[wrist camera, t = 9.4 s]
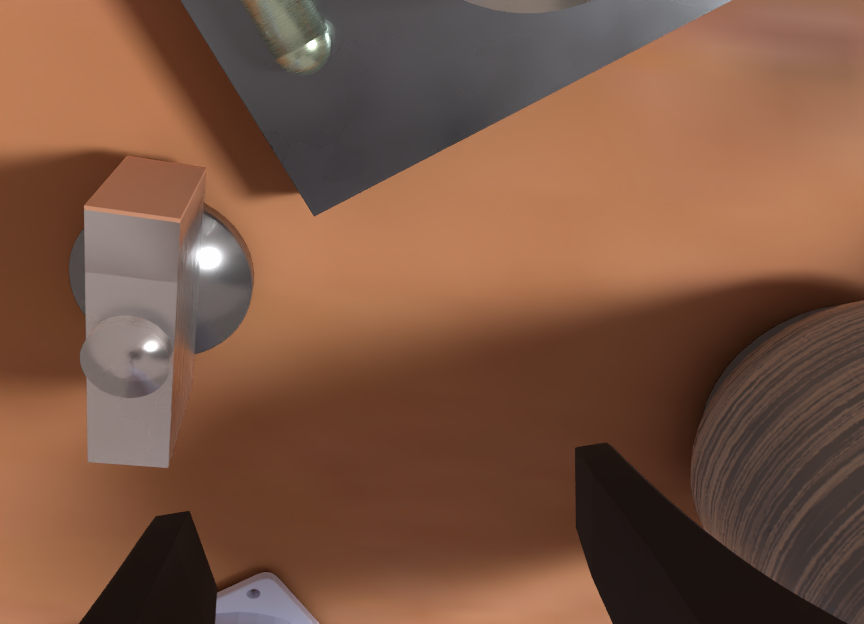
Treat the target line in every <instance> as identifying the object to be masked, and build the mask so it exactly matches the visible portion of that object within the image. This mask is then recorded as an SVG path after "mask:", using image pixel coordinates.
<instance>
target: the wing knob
mask: <svg viewBox="0 0 864 624" xmlns="http://www.w3.org/2000/svg"><path fill="white" fill-rule="evenodd" d="M205 177H206V168H205V167H198V166H192V165H185V164H179V163H172V162H166V161H159V160H153V159H146V158H140V157H133V156H126V157H125V159H124V160H123V161H122V162H121V163H120V164H119V165H118V167H117V168H116V169H115V170H114V171H113V172H112V174H111V175H110V176H109V177H108V178H107V179H106V180H105V182H104V183H103V184H102V185H101V186H100V187H99V189H98V190H97V191H96V192H95V193H94V194H93V196H92V197H91V198H90V199H89V200H88V201H87V202H86V204H85V205H84V229H83V230H82V231H81V233H80V234H79V236H78V238H77V239H76V241H75V244H74V246H73V249H72V251H71V256H70V261H69V278H70V284H71V288H72V292H73V295H74V297H75V299H76V302H77V304H78V305H79V307H80V309H81V311H82V312H83V314H84V315H85V316H86V340H85V342H84V344H83V346H82V348H81V352H80V364H81V368H82V370H83V372H84V374H85V376H86V377H87V441H88V462H93V463H107V464H121V465H134V466H148V467H161V468H168V467H169V464H170V461H171V457H172V454H173V451H174V447H175V444H176V440H177V437H178V434H179V430H180V427H181V424H182V420H183V417H184V413H185V410H186V407H187V403H188V400H189V397H190V393H191V390H192V383H193V367H194V354H197V353H201V352H204V351H206V350H209V349H211V348H213V347H215V346H216V345H218V344H220V343H222V342H223V341H224V340H225V339H227V338H228V337H229V336H230V335H231V334H232V333H233V332H234V331H235V330H236V329H237V328H238V326H239V325H240V324H241V322H242V321H243V319H244V317H245V315H246V313H247V310H248V307H249V304H250V300H251V295H252V290H253V285H254V270H253V263H252V259H251V255H250V252H249V250H248V248H247V245H246V243H245V242H244V240H243V238H242V237H241V235H240V234H239V232H238V231H237V230H236V228H235V227H234V226H233V225H232V224H231V223H230V222H229V221H228V220H227V219H226V218H225V217H224V216H223V215H221V214H220V213H219V212H218V211H216V210H215V209H213V208H211V207H210V206H208V205H207V204H205V203H204V193H205Z"/></svg>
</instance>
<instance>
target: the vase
mask: <svg viewBox="0 0 864 624" xmlns="http://www.w3.org/2000/svg"><path fill="white" fill-rule="evenodd" d="M690 482H691V489H692V495H693V501H694V507H695V510H696V512H697V515H698V517H699V519H700V522H701V524H702V526H703V528H704V530H705V531H706V532H707V533H709V534H710V535H711V536H713V537H714V538H715V539H717V540H718V541H719V542H720V543H722V544H723V545H724V546H726V547H727V548H728V549H729V550H731V551H732V552H734V553H735V554H736V555H738V556H739V557H740V558H742V559H743V560H745V561H746V562H747V563H749V564H750V565H752V566H753V567H754V568H756V569H757V570H759V571H760V572H762V573H763V574H765V575H766V576H768V577H769V578H771V579H772V580H774V581H775V582H777V583H778V584H780V585H782V586H783V587H785V588H786V589H788V590H790V591H791V592H793V593H795V594H796V595H798V596H800V597H801V598H803V599H805V600H807V601H808V602H810V603H812V604H814V605H815V606H817V607H819V608H821V609H822V610H824V611H826V612H828V613H830V614H831V615H833V616H835V617H837V618H838V619H840V620H842V621H844V622H846V623H848V624H864V300H863V301H857V302H852V303H846V304H842V305H837V306H831V307H826V308H820V309H816V310H813V311H810V312H806V313H803V314H800V315H797V316H795V317H793V318H791V319H789V320H787V321H784V322H782V323H780V324H778V325H776V326H775V327H773V328H772V329H770V330H768V331H767V332H765V333H764V334H762V335H761V336H759V337H758V338H756V339H755V340H754V341H753V342H752V343H750V344H749V345H748V346H747V347H746V348H745V349H743V350H742V351H741V352H740V353H739V354H738V355H737V356H736V357H735V359H734V360H733V361H732V362H731V363H730V364H729V365H728V366H727V367H726V369H725V370H724V372H723V373H722V375H721V376H720V378H719V379H718V380H717V382H716V383H715V385H714V387H713V389H712V392H711V394H710V396H709V398H708V400H707V403H706V406H705V410H704V414H703V417H702V420H701V422H700V424H699V427H698V430H697V434H696V438H695V441H694V445H693V449H692V456H691V471H690Z"/></svg>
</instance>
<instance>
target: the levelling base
mask: <svg viewBox="0 0 864 624" xmlns="http://www.w3.org/2000/svg"><path fill="white" fill-rule="evenodd" d="M729 1H731V0H181V2H182V4H183V5H184V7H185V9H186V10H187V12H188V13H189V15H190V17H191V18H192V20H193V21H194V23H195V25H196V26H197V28H198V30H199V31H200V33H201V34H202V36H203V38H204V39H205V41H206V42H207V44H208V46H209V47H210V49H211V51H212V52H213V54H214V55H215V57H216V59H217V60H218V62H219V64H220V65H221V67H222V68H223V70H224V72H225V73H226V75H227V76H228V78H229V80H230V81H231V83H232V85H233V86H234V88H235V89H236V91H237V93H238V94H239V96H240V97H241V99H242V101H243V102H244V104H245V106H246V107H247V109H248V110H249V112H250V114H251V115H252V117H253V118H254V120H255V122H256V123H257V125H258V127H259V128H260V130H261V131H262V133H263V135H264V136H265V138H266V140H267V141H268V143H269V144H270V146H271V148H272V149H273V151H274V152H275V154H276V156H277V157H278V159H279V161H280V162H281V164H282V165H283V167H284V169H285V170H286V172H287V173H288V175H289V177H290V178H291V180H292V182H293V183H294V185H295V186H296V188H297V190H298V191H299V193H300V194H301V196H302V198H303V199H304V201H305V203H306V204H307V206H308V207H309V209H310V211H311V212H312V214H313V215H314V216H316V215H318V214H320V213H322V212H324V211H326V210H328V209H329V208H331V207H333V206H335V205H337V204H339V203H341V202H343V201H345V200H347V199H349V198H351V197H353V196H355V195H357V194H358V193H360V192H362V191H364V190H366V189H368V188H370V187H372V186H374V185H376V184H378V183H380V182H382V181H384V180H386V179H387V178H389V177H391V176H393V175H395V174H397V173H399V172H401V171H403V170H405V169H407V168H409V167H411V166H413V165H414V164H416V163H418V162H420V161H422V160H424V159H426V158H428V157H430V156H432V155H434V154H436V153H438V152H440V151H442V150H443V149H445V148H447V147H449V146H451V145H453V144H455V143H457V142H459V141H461V140H463V139H465V138H467V137H469V136H471V135H472V134H474V133H476V132H478V131H480V130H482V129H484V128H486V127H488V126H490V125H492V124H494V123H496V122H498V121H499V120H501V119H503V118H505V117H507V116H509V115H511V114H513V113H515V112H517V111H519V110H521V109H523V108H525V107H527V106H528V105H530V104H532V103H534V102H536V101H538V100H540V99H542V98H544V97H546V96H548V95H550V94H552V93H554V92H556V91H557V90H559V89H561V88H563V87H565V86H567V85H569V84H571V83H573V82H575V81H577V80H579V79H581V78H583V77H584V76H586V75H588V74H590V73H592V72H594V71H596V70H598V69H600V68H602V67H604V66H606V65H608V64H610V63H612V62H613V61H615V60H617V59H619V58H621V57H623V56H625V55H627V54H629V53H631V52H633V51H635V50H637V49H639V48H640V47H642V46H644V45H646V44H648V43H650V42H652V41H654V40H656V39H658V38H660V37H662V36H664V35H666V34H668V33H669V32H671V31H673V30H675V29H677V28H679V27H681V26H683V25H685V24H687V23H689V22H691V21H693V20H695V19H697V18H698V17H700V16H702V15H704V14H706V13H708V12H710V11H712V10H714V9H716V8H718V7H720V6H722V5H724V4H725V3H727V2H729Z"/></svg>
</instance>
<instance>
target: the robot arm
mask: <svg viewBox="0 0 864 624" xmlns="http://www.w3.org/2000/svg"><path fill="white" fill-rule="evenodd" d="M575 481H576V529H577V532H578V535H579V538H580V542H581V545H582V548H583V551H584V554H585V557H586V561H587V564H588V567H589V570H590V573H591V576H592V578H593V581H594V583H595V585H596V587H597V590H598V592H599V594H600V596H601V599H602V601H603V603H604V605H605V607H606V610H607V612H608V614H609V616H610V618H611V621H612V623H613V624H848V623H846V622H844V621H842V620H840V619H838V618H837V617H835V616H833V615H831V614H830V613H828V612H826V611H824V610H822V609H821V608H819V607H817V606H815V605H814V604H812V603H810V602H808V601H807V600H805V599H803V598H801V597H800V596H798V595H796V594H795V593H793V592H791V591H790V590H788V589H786V588H785V587H783V586H782V585H780V584H778V583H777V582H775V581H774V580H772V579H771V578H769V577H768V576H766V575H765V574H763V573H762V572H760V571H759V570H757V569H756V568H754V567H753V566H752V565H750V564H749V563H747V562H746V561H745V560H743V559H742V558H740V557H739V556H738V555H736V554H735V553H734V552H732V551H731V550H729V549H728V548H727V547H726V546H724V545H723V544H722V543H720V542H719V541H718V540H717V539H715V538H714V537H713V536H711V535H710V534H709V533H707V532H706V531H705V530H704V529H703V528H701V527H700V526H699V525H698V524H696V523H695V522H694V521H693V520H692V519H690V518H689V517H688V516H687V515H686V514H685V513H683V512H682V511H681V510H680V509H679V508H678V507H676V506H675V505H674V504H673V503H672V502H671V501H669V500H668V499H667V498H666V497H665V496H664V495H663V494H662V493H660V492H659V491H658V490H657V489H656V488H655V487H654V486H653V485H652V484H651V483H650V482H648V481H647V480H646V479H645V478H644V477H643V476H642V475H641V474H640V473H639V472H638V471H637V470H636V469H635V468H634V467H633V466H632V465H631V464H630V463H629V462H627V461H626V460H625V459H624V458H623V457H622V456H621V455H620V454H619V453H618V452H617V451H616V450H615V449H614V448H613V447H612V446H611V445H609V444H608V443H601V444H595V445H588V446H582V447H576V448H575ZM251 589H257V590H251ZM79 624H320V623H319V622H318V621H317V620H316V619H315V618H314V617H313V616H312V615H311V614H310V612H309V611H308V610H307V609H306V608H305V607H304V606H303V605H302V604H301V602H300V601H299V600H298V599H297V598H296V597H295V596H294V595H293V594H292V592H291V591H290V590H289V589H288V588H287V587H286V586H285V585H284V584H283V583H282V581H281V580H280V579H279V578H278V577H277V576H276V575H274V574H273V573H269V572H263V573H259V574H257V575H255V576H252V577H250V578H248V579H246V580H244V581H241V582H239V583H237V584H235V585H233V586H231V587H228V588H226V589H224V590H222V591H220V592H217V586H216V583H215V580H214V578H213V575H212V572H211V569H210V566H209V564H208V561H207V558H206V555H205V553H204V550H203V547H202V544H201V541H200V539H199V536H198V533H197V530H196V528H195V525H194V522H193V519H192V516H191V514H190V511H186V512H180V513H173V514H167V515H161V516H156V517H155V518H154V519H153V521H152V522H151V523H150V525H149V526H148V528H147V529H146V530H145V532H144V533H143V535H142V536H141V538H140V539H139V541H138V542H137V543H136V545H135V546H134V548H133V549H132V551H131V552H130V554H129V555H128V556H127V558H126V559H125V561H124V562H123V564H122V565H121V567H120V568H119V569H118V571H117V572H116V574H115V575H114V577H113V578H112V579H111V581H110V582H109V584H108V585H107V586H106V588H105V589H104V590H103V592H102V593H101V595H100V596H99V597H98V599H97V600H96V601H95V603H94V604H93V605H92V607H91V608H90V610H89V611H88V612H87V614H86V615H85V616H84V618H83V619H82V620H81V622H80V623H79Z"/></svg>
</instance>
